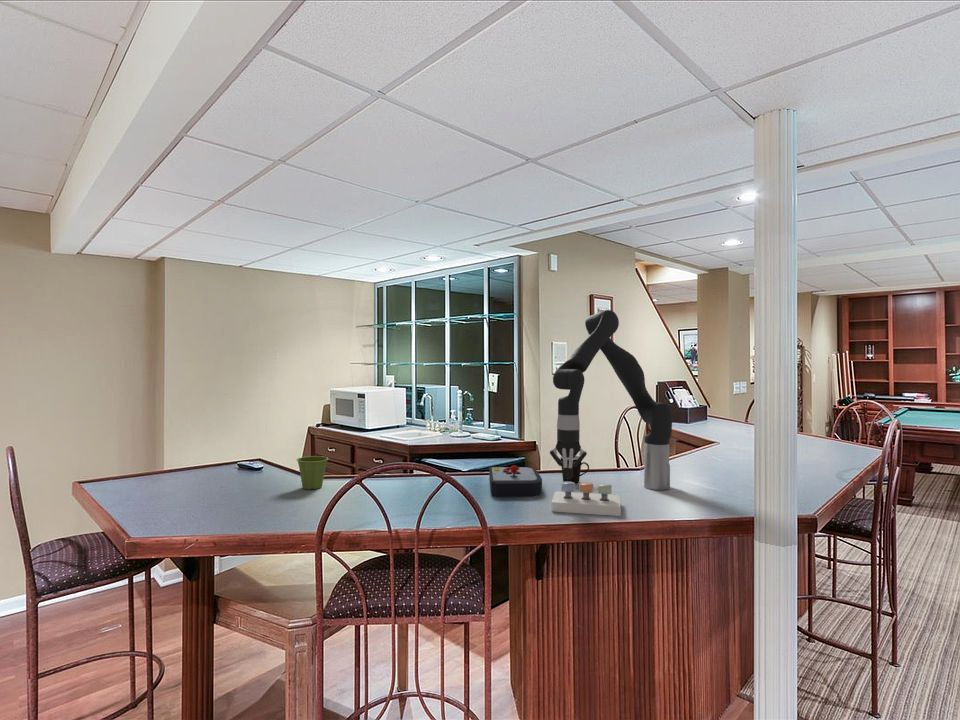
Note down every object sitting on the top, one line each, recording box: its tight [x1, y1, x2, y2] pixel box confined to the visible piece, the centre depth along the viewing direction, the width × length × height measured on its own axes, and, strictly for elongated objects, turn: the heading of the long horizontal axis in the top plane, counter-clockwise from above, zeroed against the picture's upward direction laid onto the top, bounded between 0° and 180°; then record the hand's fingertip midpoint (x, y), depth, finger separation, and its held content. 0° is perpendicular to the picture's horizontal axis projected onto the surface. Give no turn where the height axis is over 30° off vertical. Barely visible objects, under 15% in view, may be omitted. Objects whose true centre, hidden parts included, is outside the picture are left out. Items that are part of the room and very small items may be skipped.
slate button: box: [560, 481, 576, 499], centre depth 179 cm, size 5×5×6 cm
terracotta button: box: [578, 482, 594, 500], centre depth 177 cm, size 5×5×6 cm
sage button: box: [596, 483, 612, 501], centre depth 176 cm, size 5×5×6 cm
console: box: [551, 491, 622, 517], centre depth 177 cm, size 22×14×3 cm, turn 77°
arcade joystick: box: [488, 464, 543, 498], centre depth 205 cm, size 28×19×10 cm
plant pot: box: [296, 455, 329, 490], centre depth 204 cm, size 12×12×11 cm
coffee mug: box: [559, 455, 590, 485], centre depth 212 cm, size 12×9×10 cm
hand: (568, 478), depth 179 cm, fingers closed
